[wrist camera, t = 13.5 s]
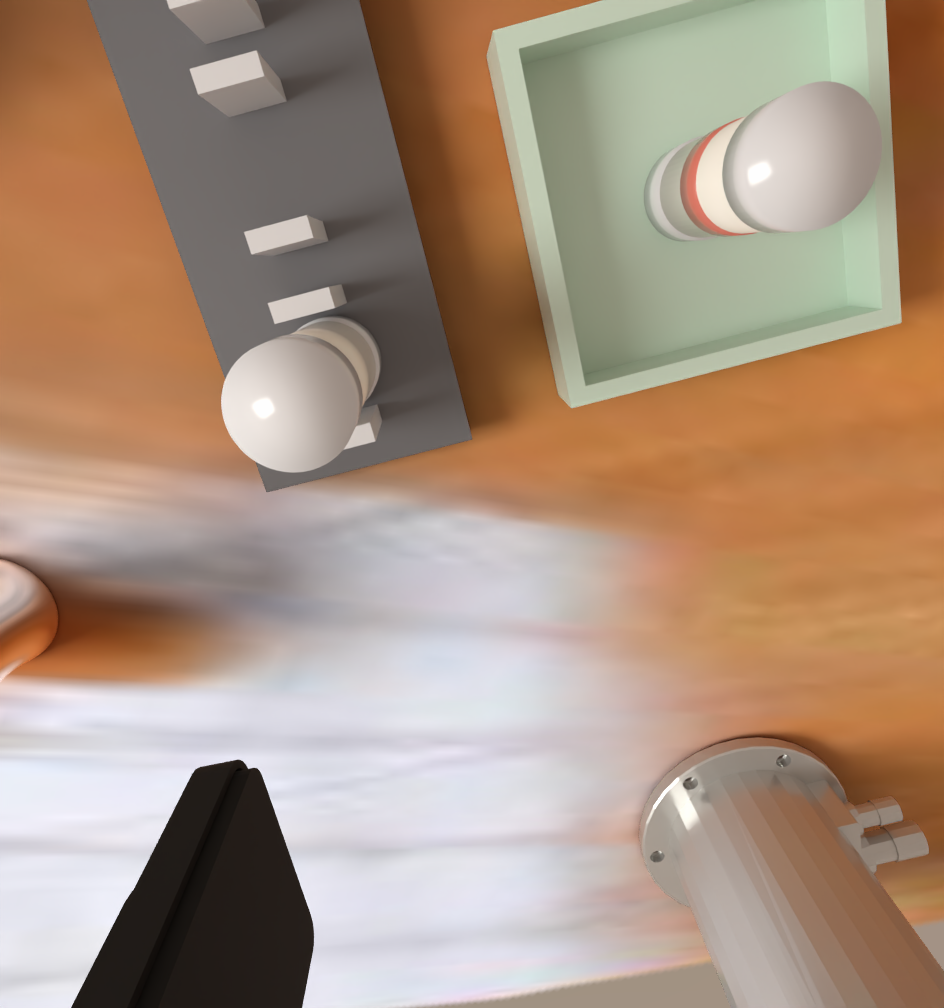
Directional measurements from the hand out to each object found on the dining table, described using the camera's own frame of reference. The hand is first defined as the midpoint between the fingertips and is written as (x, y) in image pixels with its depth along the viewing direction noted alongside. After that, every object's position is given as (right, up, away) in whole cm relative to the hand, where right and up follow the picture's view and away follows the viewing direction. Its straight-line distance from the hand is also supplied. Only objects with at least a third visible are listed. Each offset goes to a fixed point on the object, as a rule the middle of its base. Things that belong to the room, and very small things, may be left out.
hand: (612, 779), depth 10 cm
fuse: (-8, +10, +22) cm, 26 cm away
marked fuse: (+8, +17, +22) cm, 29 cm away
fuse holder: (-10, +18, +22) cm, 30 cm away
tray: (+8, +18, +23) cm, 30 cm away
